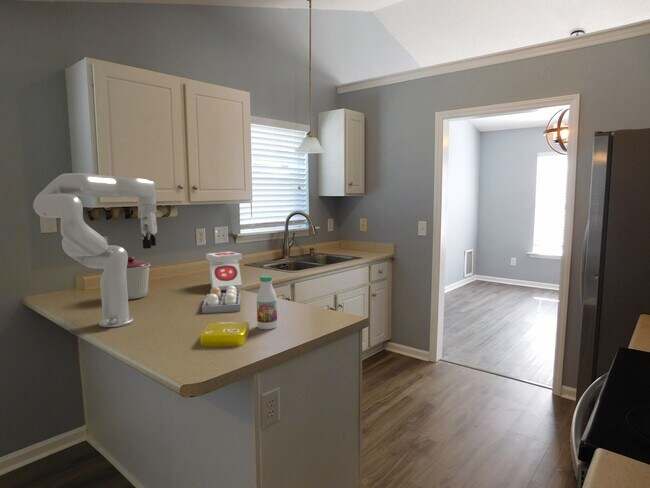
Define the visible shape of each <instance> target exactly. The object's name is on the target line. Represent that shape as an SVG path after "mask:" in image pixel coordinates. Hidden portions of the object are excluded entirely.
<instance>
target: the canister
mask: <svg viewBox="0 0 650 488" xmlns="http://www.w3.org/2000/svg"><path fill="white" fill-rule="evenodd" d="M150 266H151V263H149V262H147V261H145V260H144V261H143V260H135V257H134V256H131V255H130V256H129V255H128V262H127V269H126V279H127V293H128V300H137V299H141V298H144V297H146V295H147V294H148V291H149V276H150V275H149V274H150Z"/></svg>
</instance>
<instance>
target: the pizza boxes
mask: <svg viewBox="0 0 650 488" xmlns="http://www.w3.org/2000/svg"><path fill="white" fill-rule="evenodd" d="M205 259H206V260H208V261H209V278H210V286H211V288H213V287H218V288H220V291H225V290H226V291H227V288H228V287H229V286H234V287H235V288H236V290H239V289H242V287H243V283H242V277H241V276H242V275H241V270H240V264H239V261H240V260H241V261H242V260H243V254H242V253H238V252H234V251H221V252H209V253H206V254H205Z"/></svg>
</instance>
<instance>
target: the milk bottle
mask: <svg viewBox="0 0 650 488" xmlns="http://www.w3.org/2000/svg"><path fill="white" fill-rule="evenodd" d="M259 277H260V278H259V283H260V285H259V286H260V288H259V290H258V292H257V295H256V322H257V323H256V325H257V328H258V329H259V330H273V329H276V328H277V326H278V300H277V299H278V298H277V294H276V292H275V289H274V286H273V277H272V275H261V276H259Z"/></svg>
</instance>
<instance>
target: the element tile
mask: <svg viewBox="0 0 650 488" xmlns="http://www.w3.org/2000/svg"><path fill="white" fill-rule="evenodd" d="M249 335H250V323H249V322H248V321H226V322H225V321H224V322H223V321H221V322H219V321H218V322H216V321H215V322H209V323H208V324H207V325H206V326H205V328H204V329H203V330H202V332H201V333H200V337H199V339H200V346H201V347H239V346H243V345H245V343H246V341H247V339H248V337H249Z"/></svg>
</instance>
